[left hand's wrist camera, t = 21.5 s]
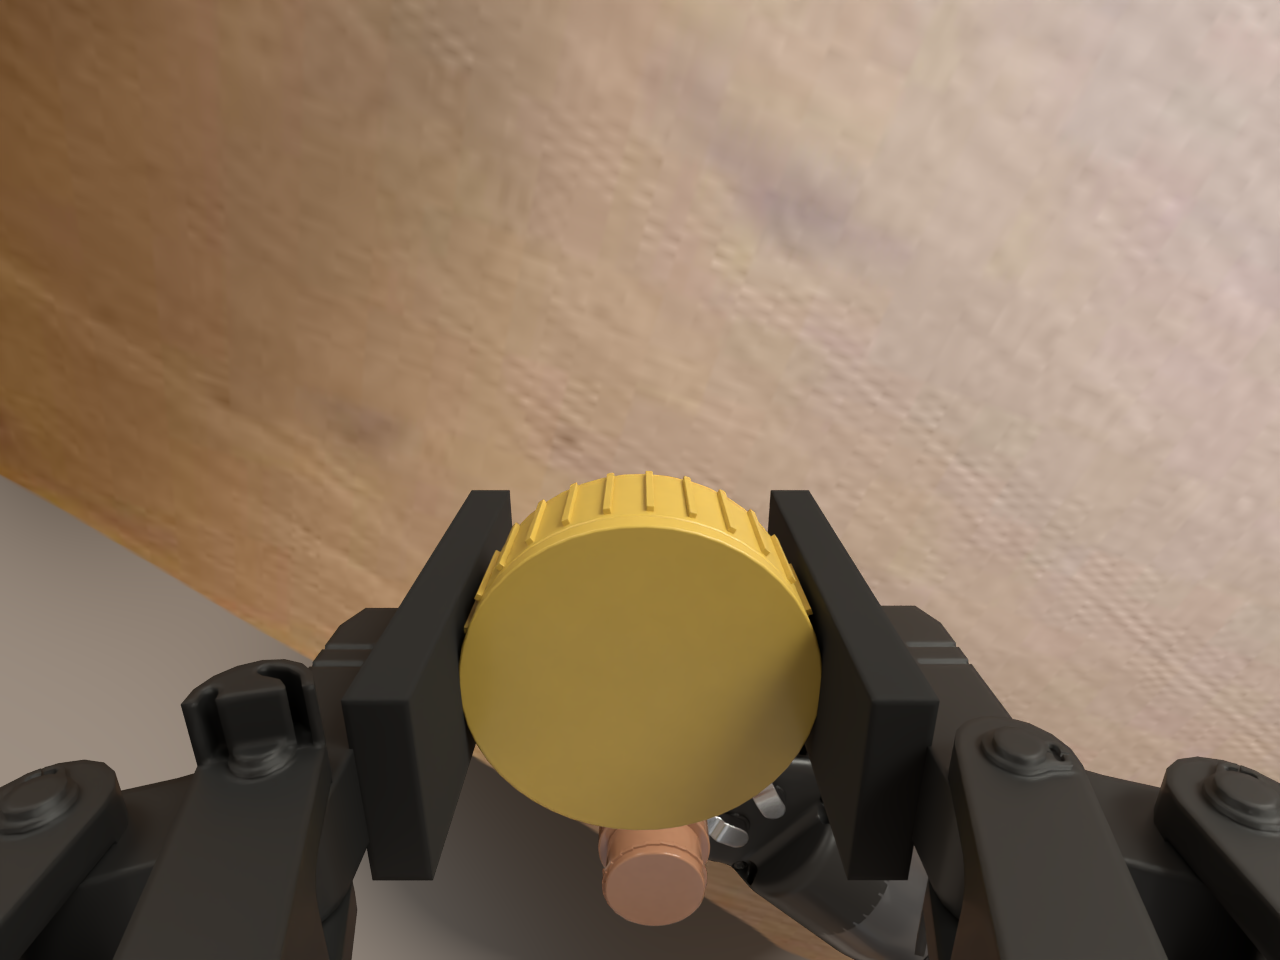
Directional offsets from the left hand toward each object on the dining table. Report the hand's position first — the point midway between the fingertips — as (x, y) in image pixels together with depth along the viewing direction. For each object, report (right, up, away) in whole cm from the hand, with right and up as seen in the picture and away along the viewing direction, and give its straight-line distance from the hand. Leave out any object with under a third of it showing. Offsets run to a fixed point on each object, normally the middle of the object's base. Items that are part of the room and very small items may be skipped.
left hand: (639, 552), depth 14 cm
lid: (0, -1, -4) cm, 4 cm away
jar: (+1, -8, +27) cm, 28 cm away
